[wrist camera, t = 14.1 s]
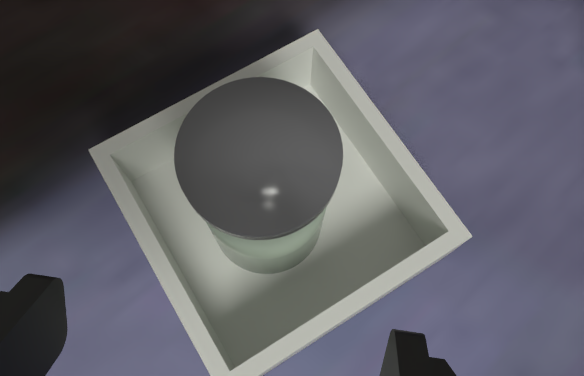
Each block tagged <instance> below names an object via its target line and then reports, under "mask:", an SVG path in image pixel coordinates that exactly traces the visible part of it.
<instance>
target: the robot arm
mask: <svg viewBox="0 0 584 376" xmlns="http://www.w3.org/2000/svg"><path fill="white" fill-rule="evenodd" d="M66 336H67V318H66V307H65V296H64V286H63V282H62V280H61V279H60V278H56V277H49V276H42V275H35V274H27V275H25V276H24V277H23V278H22V279H21V280H20V281H19V282H18V283H17V284H16V285H15V286H14V287H13V288H12V289H11V291H10V292H3V291H0V376H45V375H46V374H47V372H48V371H49V369H50V368H51V366H52V365H53V363H54V362H55V360H56V359H57V358H58V356H59V355H60V353H61V351H62V349H63V347H64V344H65V340H66ZM380 376H456V374H455V373H454V372H453V370H452V369H451V367H450V366H449V365H448V363H447V362H446V361H445V359H439V358H432V357H429V355H428V349H427V344H426V339H425V335H424V334H423V333H416V332H409V331H403V330H396V329H392V330H391V333H390V336H389V340H388V344H387V348H386V352H385V356H384V360H383V364H382V368H381V372H380Z"/></svg>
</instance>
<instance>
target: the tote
mask: <svg viewBox="0 0 584 376" xmlns="http://www.w3.org/2000/svg"><path fill="white" fill-rule="evenodd" d="M251 77H268V78H276V79H281V80H285V81H288V82H291V83H293V84H296V85H298V86H300V87H302V88H304V89H305V90H307V91H308V92H310V93H311V94H313V95H314V96H315V97H316V98H318V99H319V100H320V101H321V102H322V103H323V104H324V106H325V107H326V108H327V109H328V110H329V112H330V113H331V115H332V116H333V118H334V120H335V122H336V124H337V126H338V129H339V132H340V135H341V139H342V144H343V164H342V169H341V174H340V178H339V181H338V185H337V187H336V190H335V193H334V195H333V197H332V198H331V200H330V202H329V204H328V205H327V207H326V211H325V215H324V219H323V223H322V227H321V231H320V235H319V238H318V241H317V243H316V245H315V247H314V249H313V250H312V251H311V253H310V254H309V255H308V256H307V257H306V258H305V259H304V260H303V261H302V262H301V263H299V264H298V265H296V266H295V267H293V268H291V269H289V270H286V271H283V272H280V273H274V274H259V273H254V272H250V271H247V270H245V269H242V268H241V267H239V266H237V265H236V264H234V263H233V262H232V261H230V260H229V259H228V258H227V257H226V255H225V254H224V253H223V252H222V250H221V248H220V247H219V245H218V243H217V241H216V240H215V238H214V236H213V234H212V232H211V230H210V229H209V227H208V225H207V223H206V221H204V220H203V219H202V218H201V217H200V216H199V215H198V214H197V213H196V211H195V210H194V209H193V207H192V206H191V205H190V203H189V201H188V199H187V198H186V196H185V194H184V192H183V191H182V189H181V187H180V184H179V182H178V179H177V175H176V171H175V164H174V148H175V143H176V138H177V135H178V132H179V129H180V127H181V125H182V123H183V121H184V119H185V117H186V116H187V114H188V113H189V111H190V110H191V109H192V108H193V106H194V105H195V104H196V103H197V102H198V101H199V100H200V99H202V98H203V97H204V96H205V95H206V94H208V93H209V92H211V91H212V90H214V89H216V88H218V87H220V86H221V85H224V84H226V83H229V82H232V81H235V80H239V79H243V78H251ZM89 152H90V154H91V156H92V158H93V160H94V162H95V163H96V165H97V167H98V169H99V171H100V173H101V174H102V176H103V178H104V180H105V182H106V184H107V185H108V187H109V189H110V191H111V193H112V195H113V197H114V198H115V200H116V202H117V204H118V206H119V208H120V209H121V211H122V213H123V215H124V217H125V219H126V221H127V222H128V224H129V226H130V228H131V230H132V232H133V233H134V235H135V237H136V239H137V241H138V243H139V245H140V246H141V248H142V250H143V252H144V254H145V256H146V257H147V259H148V261H149V263H150V265H151V267H152V269H153V270H154V272H155V274H156V276H157V278H158V280H159V281H160V283H161V285H162V287H163V289H164V291H165V293H166V294H167V296H168V298H169V300H170V302H171V304H172V305H173V307H174V309H175V311H176V313H177V315H178V317H179V318H180V320H181V322H182V324H183V326H184V328H185V329H186V331H187V333H188V335H189V337H190V339H191V340H192V342H193V344H194V346H195V348H196V350H197V352H198V353H199V355H200V357H201V359H202V361H203V363H204V364H205V366H206V368H207V370H208V372H209V374H210V376H262V375H264V374H266V373H267V372H269V371H270V370H272V369H273V368H275V367H276V366H278V365H279V364H281V363H282V362H284V361H286V360H287V359H289V358H290V357H292V356H293V355H295V354H296V353H298V352H299V351H301V350H302V349H304V348H306V347H307V346H309V345H310V344H312V343H313V342H315V341H316V340H318V339H319V338H321V337H322V336H324V335H326V334H327V333H329V332H330V331H332V330H333V329H335V328H336V327H338V326H339V325H341V324H342V323H344V322H346V321H347V320H349V319H350V318H352V317H353V316H355V315H356V314H358V313H359V312H361V311H362V310H364V309H366V308H367V307H369V306H370V305H372V304H373V303H375V302H376V301H378V300H379V299H381V298H382V297H384V296H386V295H387V294H389V293H390V292H392V291H393V290H395V289H396V288H398V287H399V286H401V285H402V284H404V283H406V282H407V281H409V280H410V279H412V278H413V277H415V276H416V275H418V274H419V273H421V272H422V271H424V270H426V269H427V268H429V267H430V266H432V265H433V264H435V263H436V262H438V261H439V260H441V259H442V258H444V257H445V256H447V255H448V254H449V253H451V252H452V251H453V250H455V249H456V248H458V247H459V246H460V245H462V244H463V243H464V242H466V241H467V240H468V239H470V238H471V237H472V235H471V234H470V233H469V231H468V230H467V228H466V227H465V226H464V224H463V223H462V222H461V220H460V219H459V218H458V216H457V215H456V214H455V212H454V211H453V210H452V208H451V207H450V206H449V204H448V203H447V202H446V200H445V199H444V198H443V196H442V195H441V194H440V192H439V191H438V190H437V188H436V187H435V186H434V184H433V183H432V182H431V180H430V179H429V178H428V176H427V175H426V173H425V172H424V171H423V169H422V168H421V167H420V165H419V164H418V163H417V161H416V160H415V159H414V157H413V156H412V155H411V153H410V152H409V151H408V149H407V148H406V147H405V145H404V144H403V143H402V141H401V140H400V139H399V137H398V136H397V135H396V133H395V132H394V131H393V129H392V128H391V127H390V125H389V124H388V123H387V121H386V120H385V118H384V117H383V116H382V114H381V113H380V112H379V110H378V109H377V108H376V106H375V105H374V104H373V102H372V101H371V100H370V98H369V97H368V96H367V94H366V93H365V92H364V90H363V89H362V88H361V86H360V85H359V84H358V82H357V81H356V80H355V78H354V77H353V76H352V74H351V73H350V72H349V70H348V69H347V67H346V66H345V65H344V63H343V62H342V61H341V59H340V58H339V57H338V55H337V54H336V53H335V51H334V50H333V49H332V47H331V46H330V45H329V43H328V42H327V41H326V39H325V38H324V37H323V35H322V34H321V33H320V31H319V30H318V29H317V30H315V31H313V32H311V33H309V34H307V35H305V36H304V37H302V38H300V39H298V40H296V41H294V42H292V43H290V44H288V45H286V46H284V47H283V48H281V49H279V50H277V51H275V52H273V53H271V54H269V55H267V56H265V57H264V58H262V59H260V60H258V61H256V62H254V63H252V64H250V65H248V66H246V67H245V68H243V69H241V70H239V71H237V72H235V73H233V74H231V75H229V76H227V77H226V78H224V79H222V80H220V81H218V82H216V83H214V84H212V85H210V86H208V87H206V88H205V89H203V90H201V91H199V92H197V93H195V94H193V95H191V96H189V97H187V98H186V99H184V100H182V101H180V102H178V103H176V104H174V105H172V106H170V107H168V108H167V109H165V110H163V111H161V112H159V113H157V114H155V115H153V116H151V117H149V118H148V119H146V120H144V121H142V122H140V123H138V124H136V125H134V126H132V127H130V128H129V129H127V130H125V131H123V132H121V133H119V134H117V135H115V136H113V137H111V138H109V139H108V140H106V141H104V142H102V143H100V144H98V145H96V146H94V147H92V148H90V149H89Z"/></svg>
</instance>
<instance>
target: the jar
mask: <svg viewBox="0 0 584 376" xmlns="http://www.w3.org/2000/svg"><path fill="white" fill-rule="evenodd" d="M174 164H175V171H176V175H177V179H178V182H179V184H180V187H181V189H182V191H183V192H184V194H185V196H186V198H187V199H188V201H189V203H190V205H191V206H192V207H193V209H194V210H195V211H196V213H197V214H198V215H199V216H200V217H201V218H202V219H203V220H204V221H206V223H207V225H208V227H209V229H210V230H211V232H212V234H213V236H214V238H215V240H216V241H217V243H218V245H219V247H220V248H221V250H222V252H223V253H224V254H225V255H226V257H227V258H228V259H229V260H230V261H232V262H233V263H234V264H236V265H237V266H239V267H241V268H242V269H245V270H247V271H250V272H254V273H259V274H274V273H280V272H283V271H286V270H289V269H291V268H293V267H295V266H296V265H298V264H299V263H301V262H302V261H303V260H304V259H305V258H306V257H307V256H308V255H309V254H310V253H311V251H312V250H313V249H314V247H315V245H316V243H317V241H318V238H319V235H320V231H321V227H322V223H323V219H324V215H325V211H326V207H327V205H328V204H329V202H330V200H331V198H332V197H333V195H334V193H335V190H336V187H337V185H338V181H339V178H340V174H341V169H342V164H343V144H342V139H341V135H340V132H339V129H338V126H337V124H336V122H335V120H334V118H333V116H332V115H331V113H330V112H329V110H328V109H327V108H326V107H325V106H324V104H323V103H322V102H321V101H320V100H319V99H318V98H316V97H315V96H314V95H313V94H311V93H310V92H308V91H307V90H305V89H304V88H302V87H300V86H298V85H296V84H293V83H291V82H288V81H285V80H281V79H276V78H268V77H251V78H243V79H239V80H235V81H232V82H229V83H226V84H224V85H221V86H220V87H218V88H216V89H214V90H212V91H211V92H209V93H208V94H206V95H205V96H204V97H203V98H202V99H200V100H199V101H198V102H197V103H196V104H195V105H194V106H193V108H192V109H191V110H190V111H189V113H188V114H187V116H186V117H185V119H184V121H183V123H182V125H181V127H180V129H179V132H178V135H177V138H176V143H175V148H174Z"/></svg>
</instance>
